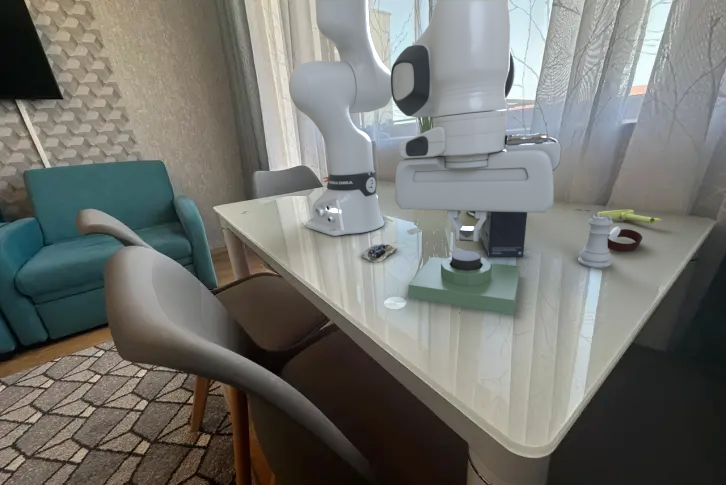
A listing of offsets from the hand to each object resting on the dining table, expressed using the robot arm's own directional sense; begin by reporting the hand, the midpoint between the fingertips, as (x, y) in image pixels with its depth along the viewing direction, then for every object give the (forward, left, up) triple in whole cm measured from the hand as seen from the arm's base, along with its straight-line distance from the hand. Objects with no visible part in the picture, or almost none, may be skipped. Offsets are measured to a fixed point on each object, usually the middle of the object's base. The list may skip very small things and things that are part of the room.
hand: (467, 240), depth 46 cm
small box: (-1, +19, -8) cm, 21 cm away
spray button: (0, 0, -4) cm, 4 cm away
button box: (0, 0, -8) cm, 8 cm away
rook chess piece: (+14, +18, -8) cm, 24 cm away
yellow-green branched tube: (+17, +46, -7) cm, 49 cm away
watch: (+17, +28, -8) cm, 34 cm away
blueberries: (-20, +5, -8) cm, 22 cm away
